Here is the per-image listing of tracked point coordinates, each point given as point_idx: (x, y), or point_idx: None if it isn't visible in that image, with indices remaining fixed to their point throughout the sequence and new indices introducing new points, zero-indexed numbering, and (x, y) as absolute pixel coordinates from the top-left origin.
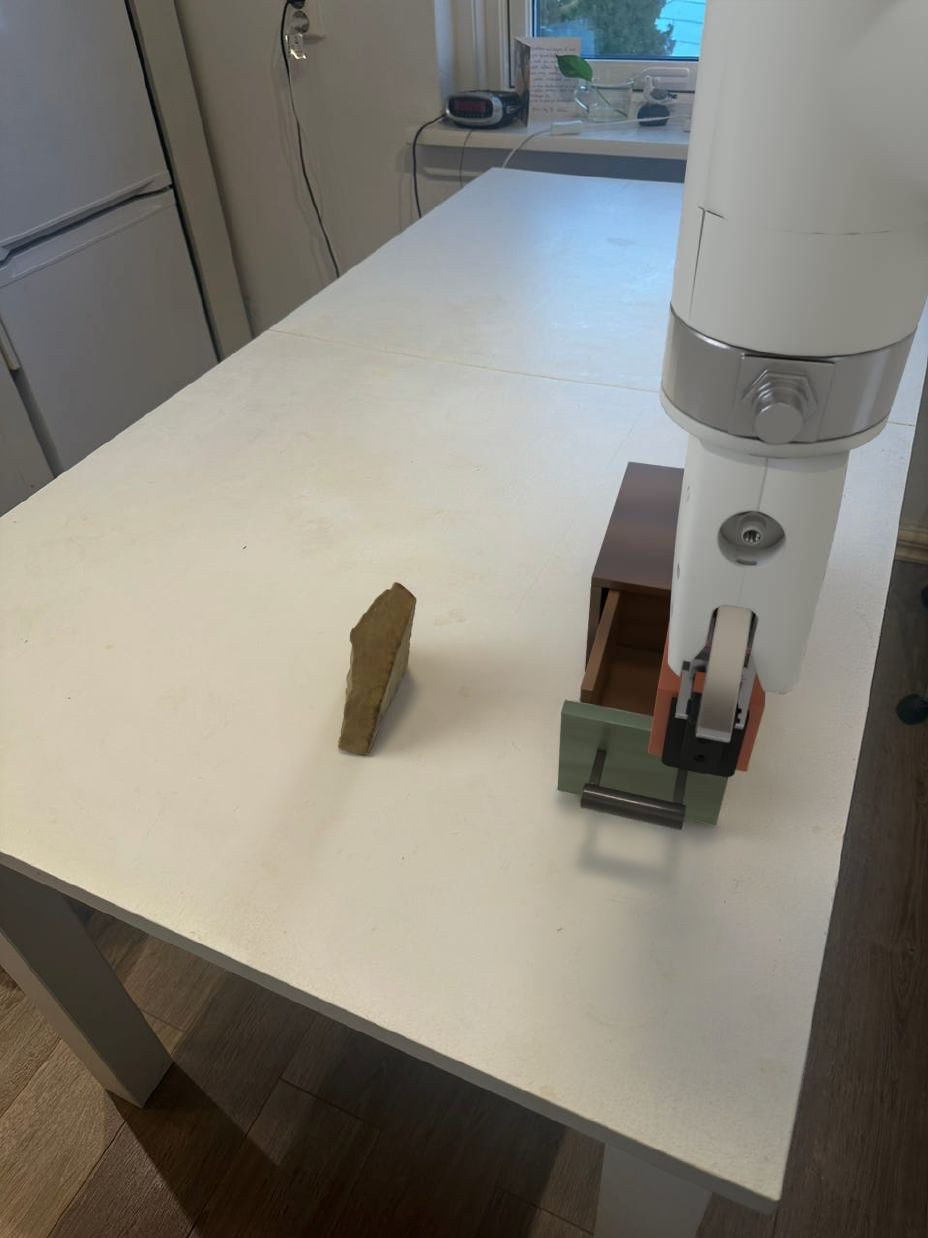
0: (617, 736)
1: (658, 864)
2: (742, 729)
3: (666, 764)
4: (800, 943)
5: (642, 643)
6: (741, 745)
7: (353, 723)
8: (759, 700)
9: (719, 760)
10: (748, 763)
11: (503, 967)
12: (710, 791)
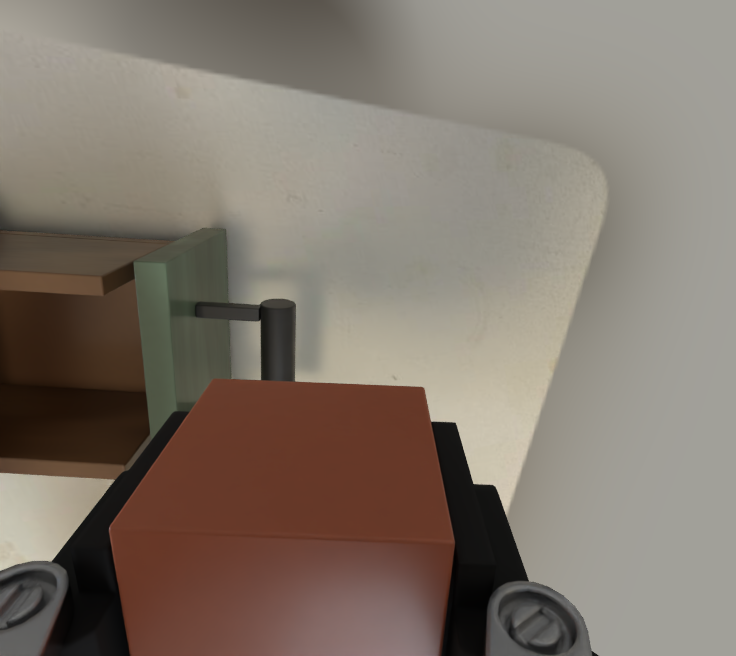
0: None
1: (291, 287)
2: (567, 600)
3: None
4: (354, 119)
5: None
6: (473, 486)
7: None
8: (429, 554)
9: (502, 509)
10: (424, 400)
11: (444, 420)
12: (206, 259)
